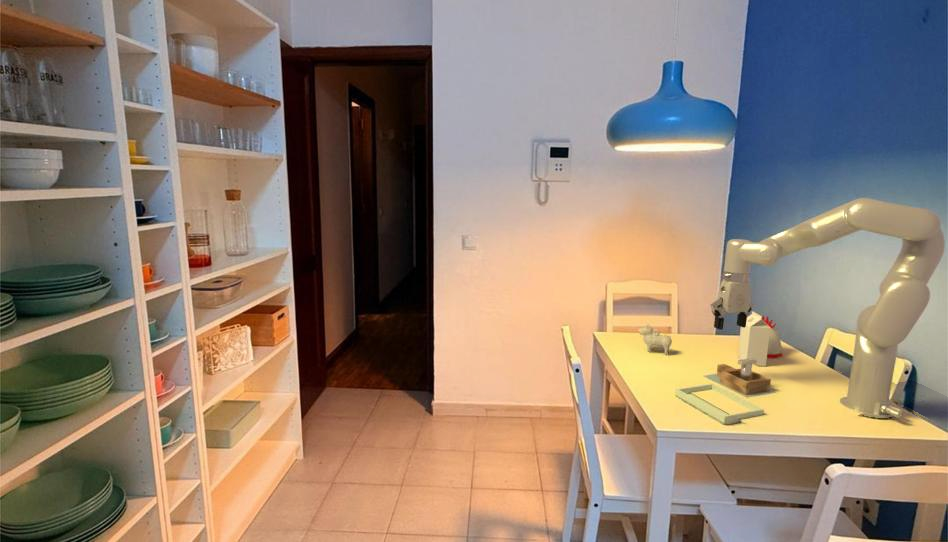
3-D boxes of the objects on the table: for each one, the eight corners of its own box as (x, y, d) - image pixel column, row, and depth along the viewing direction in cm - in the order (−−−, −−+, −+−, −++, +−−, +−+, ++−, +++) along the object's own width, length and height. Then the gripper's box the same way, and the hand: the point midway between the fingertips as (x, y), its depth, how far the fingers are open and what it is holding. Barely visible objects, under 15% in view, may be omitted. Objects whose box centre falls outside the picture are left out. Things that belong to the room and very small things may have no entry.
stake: (755, 387, 156) (758, 360, 155) (740, 389, 155) (743, 362, 153) (747, 383, 159) (750, 357, 158) (733, 386, 157) (736, 359, 156)
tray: (762, 417, 138) (763, 409, 138) (723, 425, 134) (724, 416, 133) (711, 390, 156) (711, 383, 156) (675, 396, 152) (675, 389, 151)
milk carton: (756, 359, 184) (762, 311, 181) (765, 366, 177) (771, 316, 174) (737, 359, 185) (742, 311, 181) (745, 365, 178) (751, 316, 175)
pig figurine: (638, 347, 198) (640, 322, 196) (671, 352, 192) (673, 326, 190) (635, 350, 193) (637, 325, 191) (669, 356, 187) (671, 330, 185)
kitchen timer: (748, 344, 202) (752, 309, 200) (786, 352, 192) (790, 316, 190) (736, 351, 193) (740, 315, 191) (774, 361, 183) (779, 323, 181)
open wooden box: (769, 391, 154) (771, 379, 153) (745, 395, 151) (746, 383, 150) (731, 373, 168) (732, 362, 167) (708, 377, 165) (709, 365, 164)
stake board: (775, 395, 153) (776, 392, 153) (746, 400, 149) (746, 397, 149) (729, 374, 170) (730, 371, 169) (702, 378, 166) (702, 375, 166)
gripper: (724, 280, 152) (718, 332, 155) (766, 278, 157) (759, 328, 160) (706, 276, 159) (700, 326, 162) (746, 274, 164) (740, 322, 167)
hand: (729, 327), depth 161 cm, fingers open, 9 cm apart
